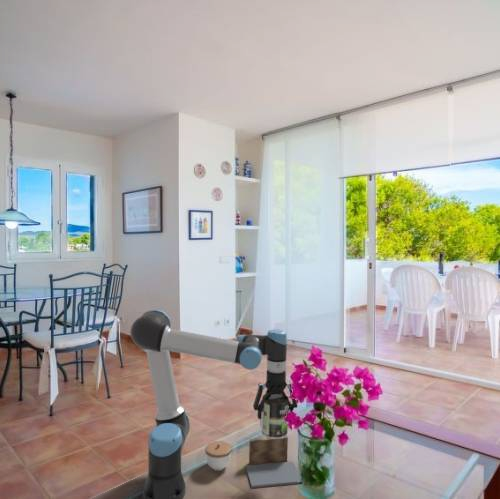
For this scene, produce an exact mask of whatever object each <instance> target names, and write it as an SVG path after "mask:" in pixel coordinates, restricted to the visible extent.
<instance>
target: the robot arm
mask: <svg viewBox="0 0 500 499" xmlns="http://www.w3.org/2000/svg"><path fill="white" fill-rule="evenodd" d="M171 322H172V321H171V318H170V316H169V315H168V314H167V313H166V312H165V311H163V310H161V309H151V310H149V311H146V312H144V313H142V315H141V316H140V317H138V318H137V319H135V320H134V321H133V323H132V325H131V327H130V338H131V340H132V342H133V343H134V344H135V345H136V346H137V347H139V348H141V350H142V351H144V352H146V358H147V362H148V363H147V364H148V367H149V372H150V377H151V378H150V379H151V382H152V389H153V393H154V398H155V402H156V404H155V405H156V409H157V411H156V412H155V414H154V421H155V425H156V426H155V427H154V428H152V429H151V430H150V433H149V435H148V440H147V441H148V442H147V443H148V444H147V448H148V455H147V456H148V459H147V460H148V462H147V463H148V468H147V469H148V472H147V473H148V474H147V477H146V480H145V483H144V486H143V489H142V498H144V499H184V497H185V495H186V481H185V478H184V476H183V473H182V452H183V448H184V446H185V442H186V439H187V437H188V434H189V433H190V425H191V424H190V423H191V422H190V418H189V415H188V414H187V413H186V411H185V407H184V406H183V405H182V404H180V400H179V395H178V389H177V385H176V380H175V374H174V370H173V364H172V359H171V354H170V352H173V353H174V352H175V353H179V354H185V355H190V356H196V357H201V358H205V359H212V360H218V361H223V362H226V363H227V362H229V363H232V364H236V365H237V364H239V365H241V366H242V367H243V368H244V369H246V370H249V371H251V370H255V369H257V368H258V367H260V365H261V362H262V360H263V359H262V357H263V356H266V369H267V370H266V382H265V383H260V382H258V384H257V385H258V389H257V392H256V395H255V399H254V401H253V405H252V407H253V410H254V411H257V418H258V420H259V427H260V428H261V429H262V428H263V415H264V412H263V410H262V409H263V408H264V401H263V399H262V397H263V395H264V399H265V400H268V399H269V397H271V395H274V394H282V395H283V397H284V399H287V396H288V395H287V394H286V393H285V389H286V388H288V390H289V394H290V396H291V393H292V390H291V384H292V383H293V382H292V381H289V382H287V381H286V380H287V372H286V370H287V354H288V353H287V350H288V347H287V346H288V339H287V338H288V336H287V335H288V334H287V332H286V331H284V330H283V329H278V328H277V329H275V328H274V329H270V330H268V331H267V334H265V335H263V334H262V335H259V334H256V335H255V334H246V333H245V334H239V335H237V337H236V341H235V340H231V339H225V338H222V337H215V336H210V335H206V334H205V335H204V334H200V333H195V332H189V331H184V330H178V329H172V328H171V324H172V323H171ZM265 388H266V391H265V393H264V394H263V391H264V390H265ZM291 401H292V402H291ZM291 401H290V400H289V401H288V412H293V411H294V410H295V409H297V408H298V402H297V399H296V400H295V399H291ZM293 413H294V412H293Z"/></svg>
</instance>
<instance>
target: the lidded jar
mask: <svg viewBox="0 0 500 499" xmlns="http://www.w3.org/2000/svg"><path fill="white" fill-rule="evenodd" d="M232 450H233V449H232V446H231V444H230V443H228V442H226V441H222V440H215V441H212V442H209V443H208V444H206V446H205V449H204V452H205V456H204V457H205V461H206V464H207V465H208V467H210V469H211V468H212V469H211V470H213V469H214V470H213V471H216V472H218V471H219V472H220V471H223V470H225V468H226V467H227V466H228V465H229V464H230V461H231V458H232ZM217 470H218V471H217Z"/></svg>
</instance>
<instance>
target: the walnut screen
mask: <svg viewBox="0 0 500 499" xmlns="http://www.w3.org/2000/svg"><path fill="white" fill-rule="evenodd" d="M288 441H289V438H288V435H287V436H286V437H284V438H282V439H270V438H267V437H260V438H257V437H256V438H249V450H248V452H249V453H248V463H249V465H258V464H269V463H281V462H288V448H289V447H288V445H289V444H288V443H289V442H288Z"/></svg>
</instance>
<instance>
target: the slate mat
mask: <svg viewBox="0 0 500 499" xmlns="http://www.w3.org/2000/svg"><path fill="white" fill-rule="evenodd" d="M245 470H246V474H247V477H248V480H249V483H250V484H249V485H250V487H251V489H252V488H253V489H254V488H264V487H273V486H275V487H276V486H283V485H295V484H299V483H298V472H299V471H298V468H297V466H296V464H295V463H294V461H285V462H273V463H261V464H249V465H245Z"/></svg>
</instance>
